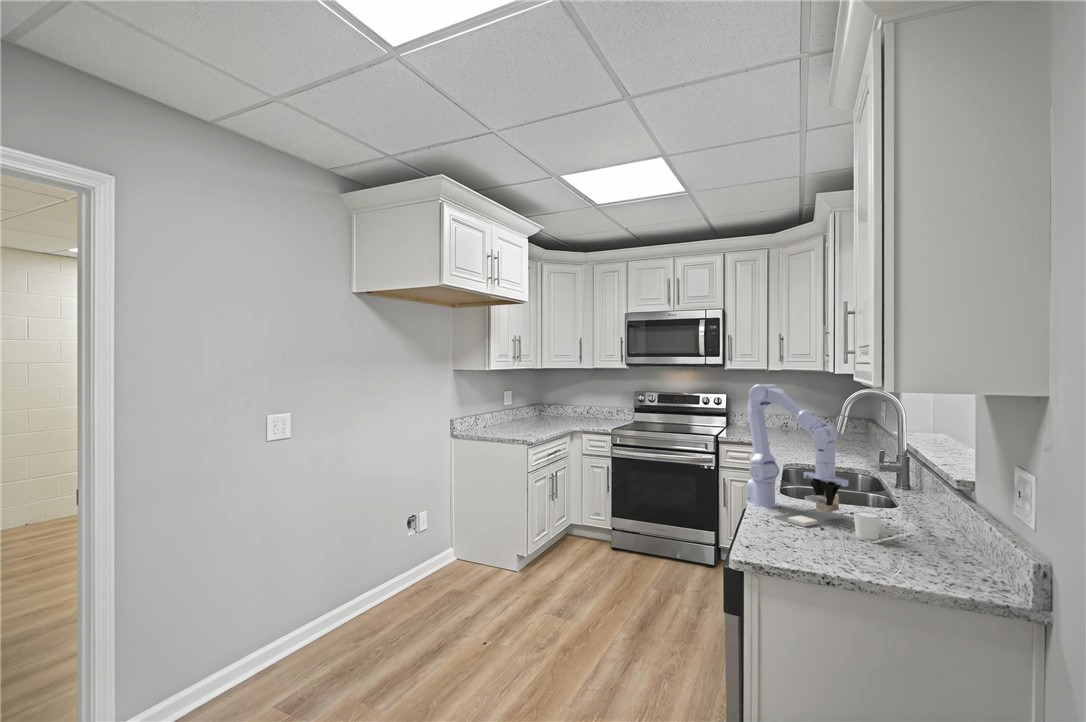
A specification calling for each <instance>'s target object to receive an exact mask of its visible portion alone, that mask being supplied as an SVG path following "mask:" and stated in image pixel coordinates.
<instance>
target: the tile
mask: <svg viewBox="0 0 1086 722" xmlns="http://www.w3.org/2000/svg"><path fill="white" fill-rule="evenodd" d="M788 522H790V523H789V524H791V523H793V524H792V525H794V524H796V525H795V526H798V525H800V526H799V527H801V526H803V527H802V528H804V527H807V526H812V525H816V524H817V520H815V519H811V518H808V517H804V516H801V515H800V516H794V517H789V518H788ZM788 522H787V523H788Z"/></svg>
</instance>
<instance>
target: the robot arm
mask: <svg viewBox="0 0 1086 722" xmlns="http://www.w3.org/2000/svg"><path fill="white" fill-rule="evenodd" d="M771 404H778V405H779V406H781V407H782V408H784V410H786V411H787V412H789V413H790V414H791V415H793V416H794V417H795V420H796V421H795V422H796V423H797V424H798V425H800V427H802V428H803V429H804V430H805V431H807V432H808V433H809V434H810V435H811V439H812V440H813V442H814V445H815V446H814V447H815V463H814V464H815V469H814V470H815V472H810V471H804V472H803V479H810V480H811V481H810V483H809V484H810V485H811V487H812V488H813V491H814V493H815V496H818V495H824V494H826V498H827V502H826V505H828V506H830V505H833V501H834V497H835V495H836V494H838V491H839V489H840V488H841V487H849V483H850V482H849V479H845V478H842V477H839V476H836V442H837V441H838V439H839V436H840V434H839V431H838V429H837V428H836V427H835V426H834V425H831V424H827V422H826V421H825V420H822V419H820V418H819V416H817V415H816V412H814V411H813V410H809V409H803V408H802V407H801V406H800V405H799V404H797V403H796V402H795V401H794V400H793V398H791V397H790V396H788V395H787V393H785V391H784V389H782V388H781V387H779V386H778V384H775V383H769V384H761V383H760V384H759V383H758V384H754V385H753V386H752V387H751V388H750V389H749V390H748V402H747V405H746V407H747V408H746V409H747V417H748V423H749V428H750V436H751V442H752V449H753V456H752V457H751V459H750V461H749V462H750V467H749V470H748V471H749V475H750V477H751V478H750V479H749V480H748V481H747V484H746V501H745V503H747V504H748V503H749V504H750V505H753V506H758V507H761V508H764V509H768V508H773V507H780V506H782V505H781V504H778V503H776V480H777V477H778V476H779V475H780V468H779V465H778V464H777V462H776V457H774V456H773V455H772V454H771V450H770V444H769V437H768V430H767V424H766V417H765V409H767V408H768V406H770V405H771Z"/></svg>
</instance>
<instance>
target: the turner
mask: <svg viewBox="0 0 1086 722" xmlns="http://www.w3.org/2000/svg"><path fill="white" fill-rule="evenodd" d="M839 495H840V494H838V493H836V495H835V497H834V501H833V505H830V506H828V505H826V502H827V498H826V493H824V495H818V496H816V494H810V495H809V494H808V495H804V501H808V502H812V503H815V507H816V508H815V509H816V511H818V512H821V513H825V512H834V511H835V512H836V511H839V510H840V497H839Z"/></svg>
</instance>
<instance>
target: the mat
mask: <svg viewBox="0 0 1086 722" xmlns="http://www.w3.org/2000/svg"><path fill="white" fill-rule="evenodd" d="M800 515H801V516H804V517H808V518H811V519H815V520H817V524H816V525H812V526H807V527H803V526H800V525H796V524H793V523H790V522H788V518H789V517H794V516H800ZM770 518H771V519H776V520H779V521H781V522H785V523H788V524H791V525H795V526H798V527H802V528H805V529H809V530H811V529H814V528H818V527H819V528H820V527H822V526H829V525H833V524H839V523H843V522H848V521H852V520H854V516H853V517H852V516H849V515H845V514H840V513H837V512H834V511H831V512H825V513H821V512H818V511H816V508H813V509H806V510H801V511H795V512H790V513H785V514H779V515H773V516H770Z"/></svg>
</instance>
